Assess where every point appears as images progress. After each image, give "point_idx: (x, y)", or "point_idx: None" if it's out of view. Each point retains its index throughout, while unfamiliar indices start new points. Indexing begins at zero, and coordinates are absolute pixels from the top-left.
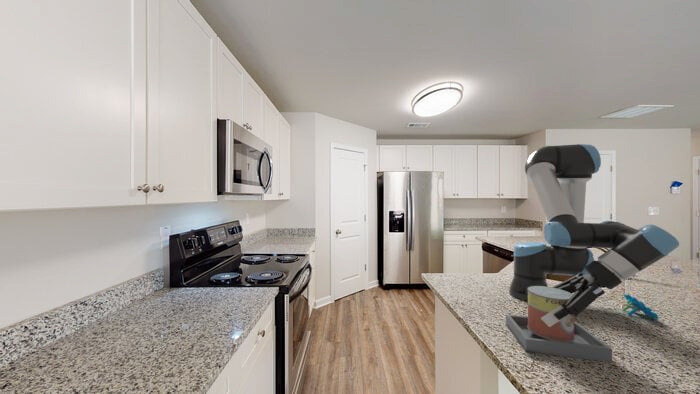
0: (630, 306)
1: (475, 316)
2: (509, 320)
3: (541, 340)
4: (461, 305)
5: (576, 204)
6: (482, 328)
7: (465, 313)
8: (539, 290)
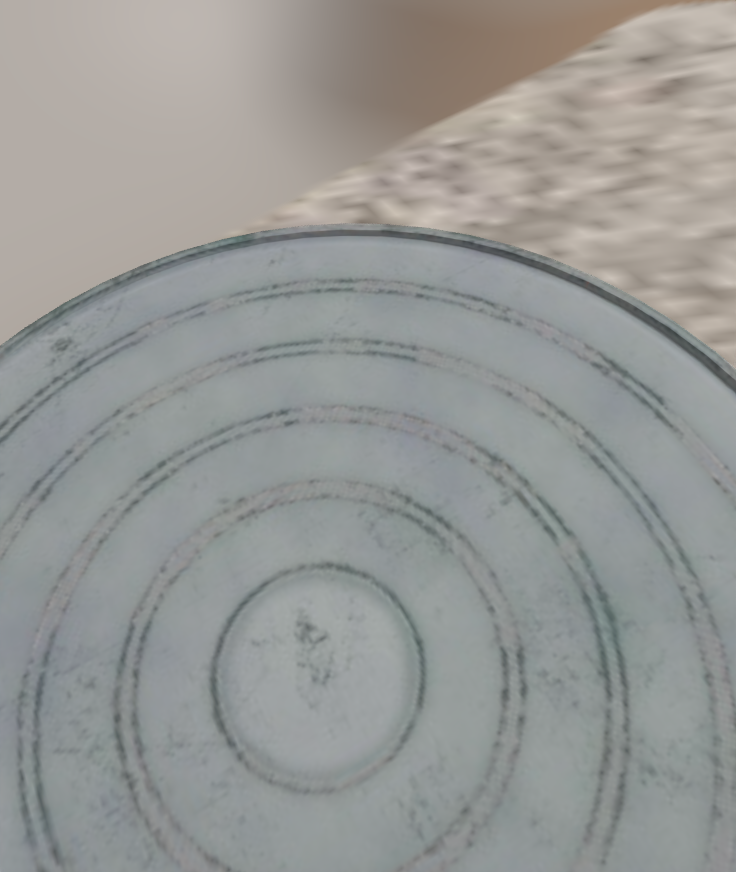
0: None
1: (482, 195)
2: None
3: None
4: (627, 90)
5: None
6: None
7: (487, 139)
8: (316, 427)
